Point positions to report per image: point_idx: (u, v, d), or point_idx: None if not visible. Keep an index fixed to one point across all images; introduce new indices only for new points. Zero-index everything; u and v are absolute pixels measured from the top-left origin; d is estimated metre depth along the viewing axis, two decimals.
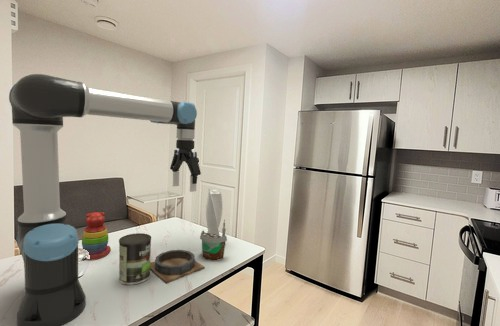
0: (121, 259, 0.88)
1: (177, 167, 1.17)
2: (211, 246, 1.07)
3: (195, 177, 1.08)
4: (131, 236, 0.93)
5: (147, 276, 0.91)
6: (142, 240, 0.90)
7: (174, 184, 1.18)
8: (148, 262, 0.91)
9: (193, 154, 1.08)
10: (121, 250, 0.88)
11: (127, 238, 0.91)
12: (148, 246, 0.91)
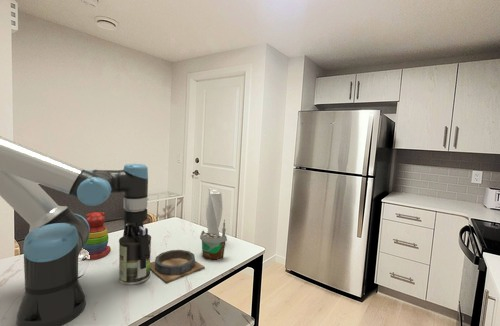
0: (121, 259, 0.88)
1: None
2: (211, 246, 1.07)
3: (143, 261, 0.87)
4: (131, 236, 0.93)
5: (147, 276, 0.91)
6: None
7: None
8: (148, 262, 0.91)
9: (143, 233, 0.86)
10: (121, 250, 0.88)
11: (127, 238, 0.91)
12: None
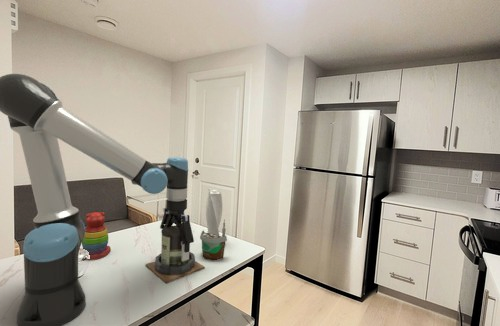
0: (164, 248, 0.96)
1: None
2: (211, 246, 1.07)
3: (187, 245, 0.94)
4: (171, 228, 1.01)
5: None
6: None
7: None
8: None
9: (185, 218, 0.94)
10: (164, 240, 0.96)
11: (168, 229, 0.99)
12: None
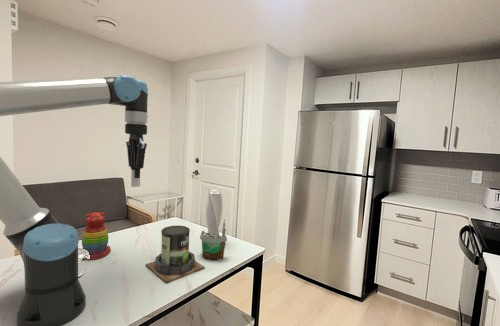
0: (164, 248, 0.96)
1: None
2: (211, 246, 1.07)
3: (137, 171, 0.98)
4: (171, 228, 1.01)
5: None
6: (182, 231, 0.98)
7: None
8: (187, 251, 0.99)
9: (141, 146, 0.94)
10: (164, 240, 0.95)
11: (168, 229, 0.99)
12: (188, 237, 0.99)
